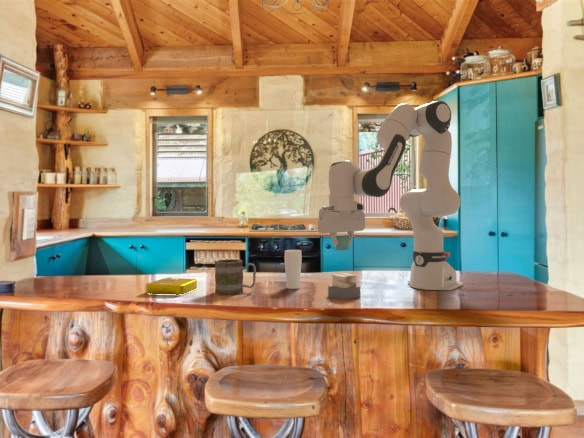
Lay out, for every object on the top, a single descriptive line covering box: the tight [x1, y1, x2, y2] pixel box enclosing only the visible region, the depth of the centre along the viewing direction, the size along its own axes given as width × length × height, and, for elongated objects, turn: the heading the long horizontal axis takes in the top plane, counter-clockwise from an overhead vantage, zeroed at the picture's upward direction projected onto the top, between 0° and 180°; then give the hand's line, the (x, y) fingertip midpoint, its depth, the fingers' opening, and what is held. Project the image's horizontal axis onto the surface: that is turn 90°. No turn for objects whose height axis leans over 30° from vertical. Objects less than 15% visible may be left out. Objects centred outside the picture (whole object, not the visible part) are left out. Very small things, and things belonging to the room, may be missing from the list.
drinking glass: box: [284, 249, 303, 290], centre depth 161 cm, size 7×7×15 cm
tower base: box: [327, 285, 361, 301], centre depth 145 cm, size 8×8×4 cm
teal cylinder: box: [334, 234, 350, 251], centre depth 146 cm, size 5×5×5 cm
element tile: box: [145, 277, 198, 295], centre depth 157 cm, size 15×15×5 cm
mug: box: [214, 258, 257, 297], centre depth 154 cm, size 16×11×12 cm
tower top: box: [331, 272, 357, 288], centre depth 146 cm, size 6×6×4 cm
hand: (342, 244), depth 146 cm, fingers closed on teal cylinder, 5 cm apart
